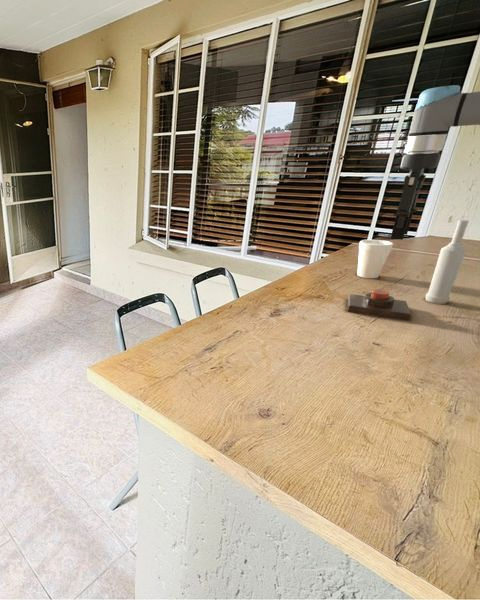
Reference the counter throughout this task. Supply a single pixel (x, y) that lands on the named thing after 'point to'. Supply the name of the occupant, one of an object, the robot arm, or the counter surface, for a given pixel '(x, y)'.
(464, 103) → the robot arm
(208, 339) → the counter surface
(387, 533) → the counter surface
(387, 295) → the press knob
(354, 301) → the control block
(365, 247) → the foam cup
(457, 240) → the bottle
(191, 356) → the counter surface
